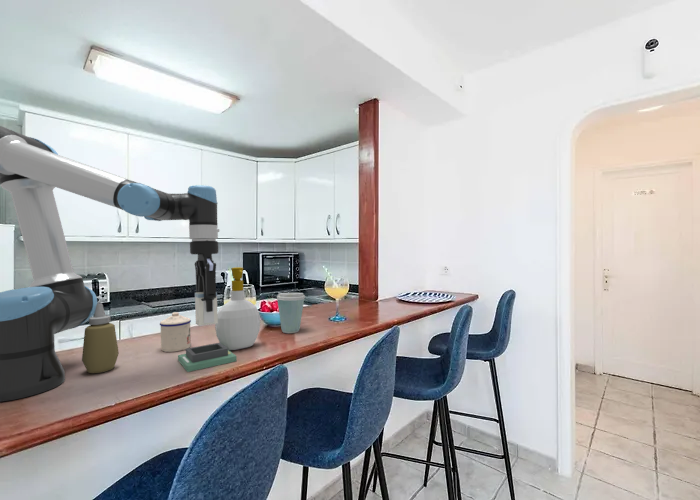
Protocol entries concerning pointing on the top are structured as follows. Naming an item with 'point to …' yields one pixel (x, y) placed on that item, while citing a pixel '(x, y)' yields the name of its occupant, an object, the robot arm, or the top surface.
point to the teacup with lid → (175, 333)
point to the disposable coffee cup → (290, 311)
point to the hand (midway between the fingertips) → (206, 321)
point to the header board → (206, 357)
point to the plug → (200, 309)
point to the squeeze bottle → (100, 343)
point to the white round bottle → (237, 318)
